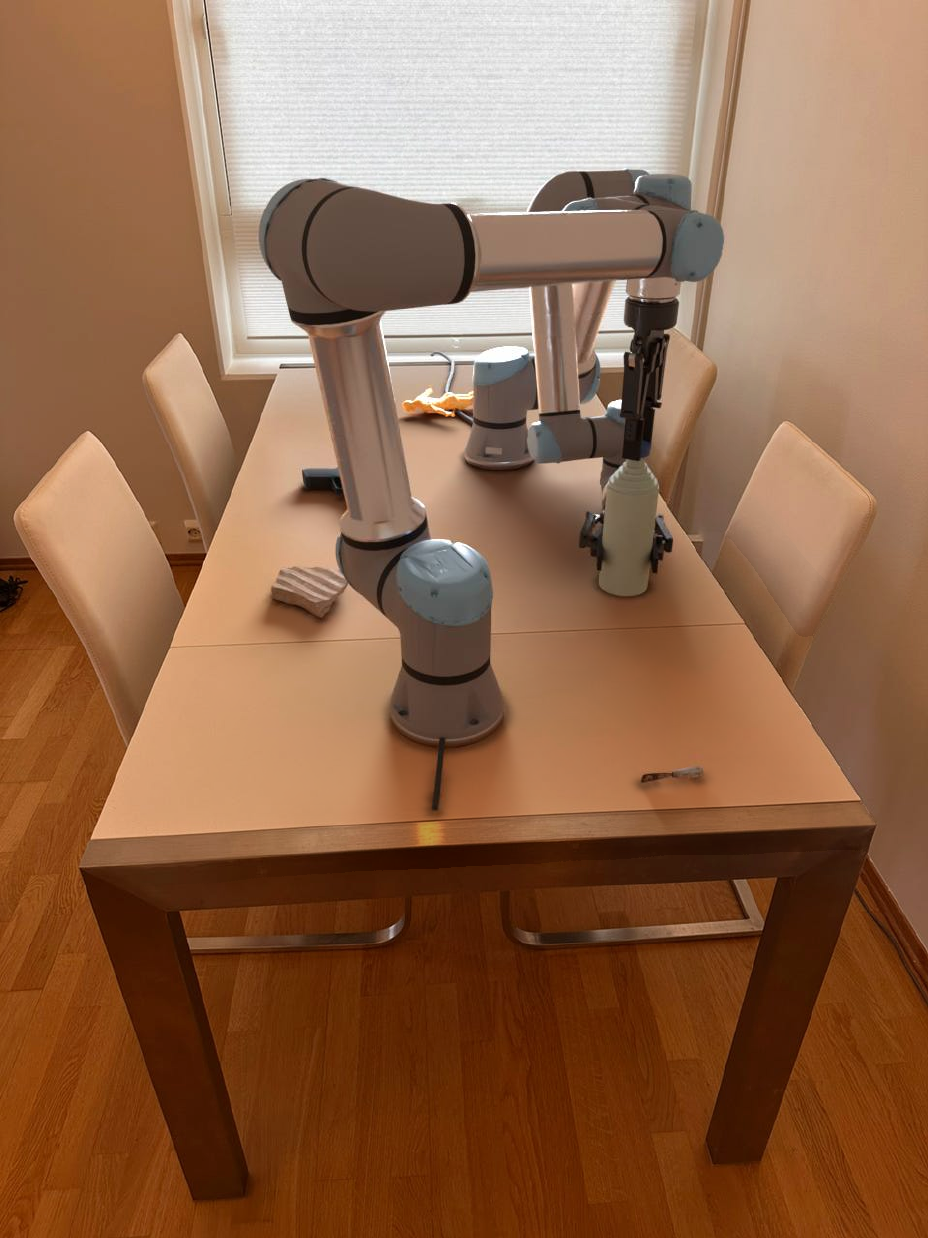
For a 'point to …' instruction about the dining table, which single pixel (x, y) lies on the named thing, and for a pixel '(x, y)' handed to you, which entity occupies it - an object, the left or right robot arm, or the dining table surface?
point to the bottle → (628, 529)
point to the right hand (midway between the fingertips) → (627, 564)
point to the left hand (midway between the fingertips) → (636, 453)
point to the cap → (645, 449)
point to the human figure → (439, 403)
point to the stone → (309, 587)
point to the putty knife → (674, 774)
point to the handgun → (322, 479)
